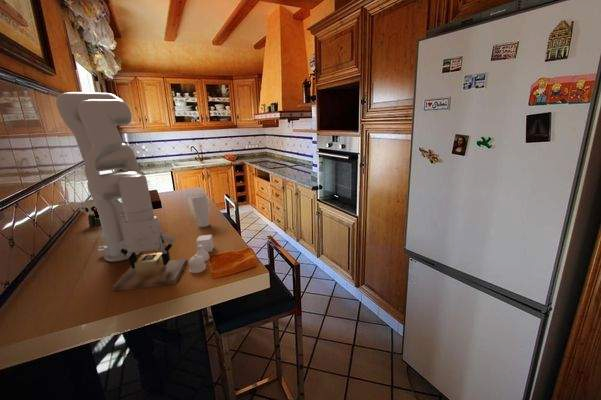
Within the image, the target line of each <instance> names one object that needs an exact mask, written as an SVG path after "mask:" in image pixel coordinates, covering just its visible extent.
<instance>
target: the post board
mask: <svg viewBox="0 0 601 400" xmlns="http://www.w3.org/2000/svg"><path fill="white" fill-rule="evenodd" d="M153 259H154V256H148V257H146V258H145V260H153ZM187 264H188V259H187V258H180V259H179V258H178V259H172V260H171V259H170V260H169V262H168V263H167V265H166V266H165V268H164V269H163V270H162V272H161V273H160V275H158V276H149V277H140V278H138V277H137V273H136V269H135V268H134V269H132V267H131V266H130V267H129V268H128V269H127V270H126V271H125V272H124V274H123V275H121V277H120V278H119V279H118V280H117V281H116V282H115V283H114V284H113V285H112V286H111V287H112V291H113V292H118V291H127V290H134V289H144V288H145V289H146V288H152V287H153V288H154V287H162V286H168V285H176V284H177V282H178V280H179V279H180V277H181V275H182V273H183V272H184V269H185V268H186V266H187Z"/></svg>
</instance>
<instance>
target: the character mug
mask: <svg viewBox="0 0 601 400" xmlns="http://www.w3.org/2000/svg"><path fill="white" fill-rule="evenodd" d="M81 203H82V205H79V206H78V207H79V211H80V212H83V213H84V214H86V215H88V216H87V217H88V226H89V227H94V226H101V222H100V219H95V216H94V208H95V206H96V205H95V203H94V201H93V198H92V199H88V200H84V201H82V202H81Z"/></svg>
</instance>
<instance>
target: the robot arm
mask: <svg viewBox="0 0 601 400" xmlns="http://www.w3.org/2000/svg"><path fill="white" fill-rule="evenodd" d="M55 105H56V107H57V111H58V113H59V116H60V117H61V119H62V121H63V122H64V124H65V125H66V126H67V128H68V129H69V131H71V133H72V134H73V136H74V138H75V141H76V144H77V146H78V149H79V152H80V154H81V158H82V161H83V163H84V165H83V167H84V174H85V177H86V181H87V189H88V192H89V194H90V196H91V198H92V199H93V201H94V203H95V205H96V208H97V212H98V215H99V219H100V222H101V224H100V226H101V230H102V233H103V236H104V241H105V244H106V245H99V246H98V247H97V254H103V253H105V255H104V261H106V262H110V263H111V262H112V263H114V262H121V261H125V260H128V262H129V265H130V267H132V269H134V268H135V264H134V263H135V262H136V261H137V260H138V257H137V256H138V255H139V254H141V253H144V252H152V251H153V252H154V251H158V250H159V251H160V252H162V260H163V264H164V265H167V263H168V262H169V260H171V258H170V253H169V251H170V249H171V248H172V247H173V245H174V242H175V239H176V238H175V237H173V236H170V235H168V234H164V233H163V230H162V227H161V224H160V221H159V219H158V217H157V216H156V215H154V209H153V204H152V201H151V195H150V190H149V185H148V181H147V178H146V176H145V175H143V174H142V172H141V170H140V169H141V168H140V166H139V163H138V161H137V158H136V155H135V152H134V150H133V148H132V147H131V146H130V145H129V144H127V143H125V142H123V139H122V136H121V134H120V132H119V130H118V127H117V126H128V125H129V124H131V122H132V120H133V119H132V118H133V117H132V112H131V109H130V108H129V106H128V104H127V103H126V102H125V100H123V99H122V98H120V97H118V96H116V94H114V93H109V92H87V91H69V92H64V93H63V92H62V93H60V94H59V95H57V96H56V99H55ZM119 169H121V170H122V171H115V172H108V173H102V174H99V172H105V171H114V170H119ZM119 199H121V201H119ZM165 241H166V242H168V245H167V244H166V243H165Z"/></svg>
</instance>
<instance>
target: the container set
mask: <svg viewBox="0 0 601 400" xmlns="http://www.w3.org/2000/svg"><path fill="white" fill-rule="evenodd" d="M213 239H214V237H213V235H212V234H206V235H205V234H204V235H198V237H197V239H196V241H195V242H196V249H197V251H196V252H195V254H194V255H193V256H192V257H190V258H189V260H188V265H189V267H188V268H189V273H191V274H198V273H202V272H204V271H205V269H206V268H207V266H206V265H205V262H207V261H208V260H209V259H210V254H209V253H211V252H213V250H214V246H215V245H214V240H213Z"/></svg>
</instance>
